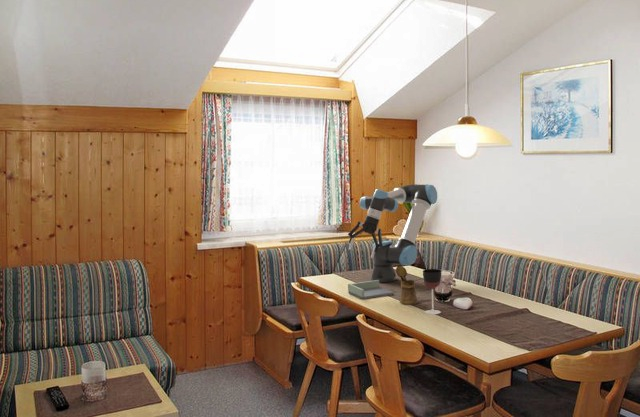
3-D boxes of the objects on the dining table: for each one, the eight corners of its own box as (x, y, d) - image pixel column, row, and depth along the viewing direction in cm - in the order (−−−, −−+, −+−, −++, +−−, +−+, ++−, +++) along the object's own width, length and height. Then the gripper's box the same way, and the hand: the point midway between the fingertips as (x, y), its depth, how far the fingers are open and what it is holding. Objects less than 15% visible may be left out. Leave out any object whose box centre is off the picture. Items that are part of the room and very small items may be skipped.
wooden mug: (407, 297, 316) (406, 263, 314) (421, 303, 303) (420, 268, 302) (392, 299, 312) (391, 265, 311) (405, 305, 300) (405, 270, 298)
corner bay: (378, 288, 338) (378, 279, 337) (393, 294, 323) (393, 285, 323) (348, 293, 330) (348, 284, 329) (362, 299, 315) (362, 290, 315)
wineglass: (421, 310, 291) (420, 269, 289) (439, 309, 291) (438, 268, 289) (426, 314, 283) (425, 273, 281) (444, 313, 283) (443, 272, 281)
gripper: (350, 209, 331) (338, 245, 331) (392, 223, 321) (379, 261, 322) (354, 210, 338) (342, 246, 338) (395, 224, 328) (383, 261, 329)
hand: (360, 253), depth 330 cm, fingers open, 13 cm apart
